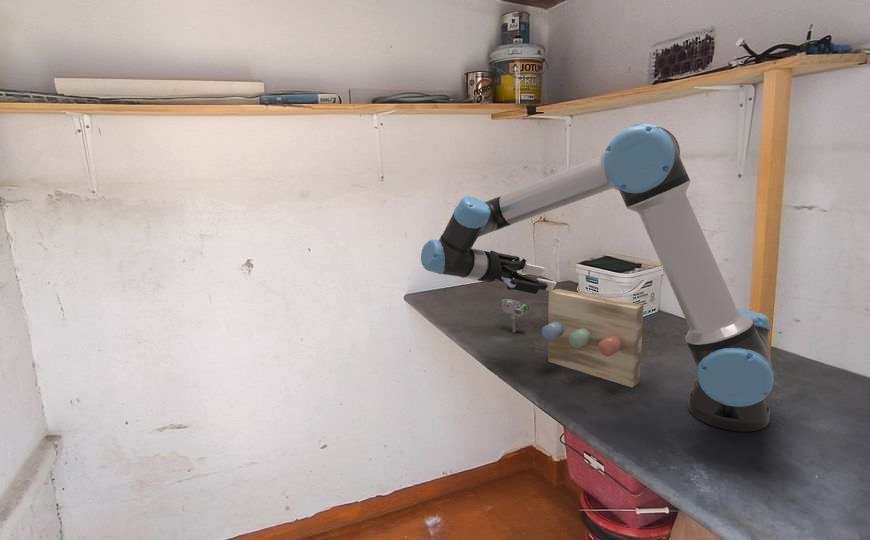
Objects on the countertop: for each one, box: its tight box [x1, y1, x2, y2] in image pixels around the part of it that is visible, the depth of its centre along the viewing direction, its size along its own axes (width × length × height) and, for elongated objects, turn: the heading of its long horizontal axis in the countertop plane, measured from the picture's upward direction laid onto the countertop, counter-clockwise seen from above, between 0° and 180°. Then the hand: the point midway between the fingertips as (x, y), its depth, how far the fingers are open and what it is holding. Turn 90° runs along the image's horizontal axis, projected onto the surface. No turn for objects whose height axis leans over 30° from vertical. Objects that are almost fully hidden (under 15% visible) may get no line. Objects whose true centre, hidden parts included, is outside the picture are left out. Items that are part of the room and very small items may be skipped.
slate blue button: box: [541, 322, 564, 341], centre depth 131 cm, size 4×4×4 cm
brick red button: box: [598, 335, 622, 356], centre depth 120 cm, size 4×4×4 cm
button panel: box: [547, 288, 644, 388], centre depth 129 cm, size 4×24×20 cm, turn 43°
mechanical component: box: [500, 298, 530, 333], centre depth 162 cm, size 3×10×10 cm, turn 41°
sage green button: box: [569, 328, 592, 348], centre depth 125 cm, size 4×4×4 cm
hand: (547, 278), depth 136 cm, fingers open, 6 cm apart
